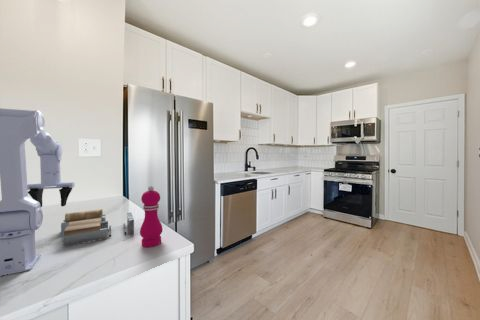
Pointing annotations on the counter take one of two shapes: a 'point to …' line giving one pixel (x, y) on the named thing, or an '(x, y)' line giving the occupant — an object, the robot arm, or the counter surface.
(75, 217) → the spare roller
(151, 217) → the pepper mill
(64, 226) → the roller stand
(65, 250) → the counter surface
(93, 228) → the slab
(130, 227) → the stop rail
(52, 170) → the robot arm
